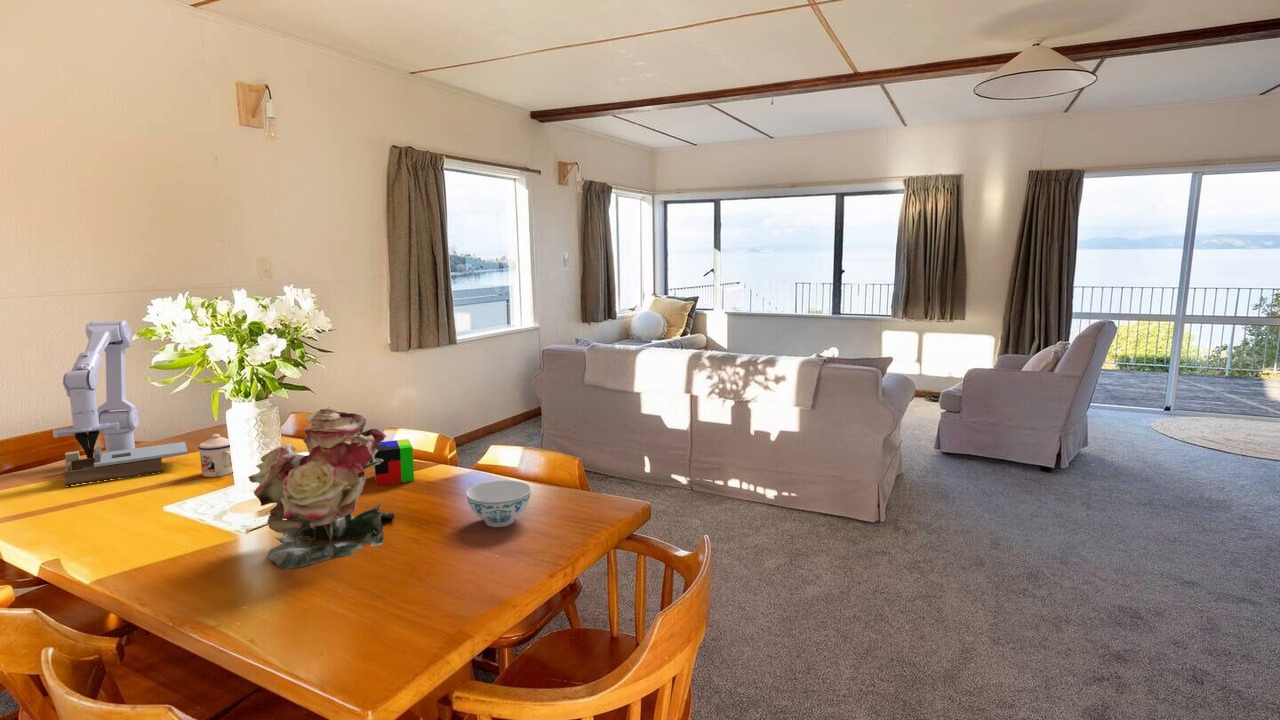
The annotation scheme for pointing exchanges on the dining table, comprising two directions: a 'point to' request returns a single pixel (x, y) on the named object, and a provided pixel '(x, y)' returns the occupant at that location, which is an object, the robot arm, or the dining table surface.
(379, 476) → the puzzle toy
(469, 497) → the chinaware
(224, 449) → the teacup with lid
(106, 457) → the toolbox lid
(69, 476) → the toolbox
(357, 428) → the rose bouquet
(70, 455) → the wooden block
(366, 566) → the dining table surface
